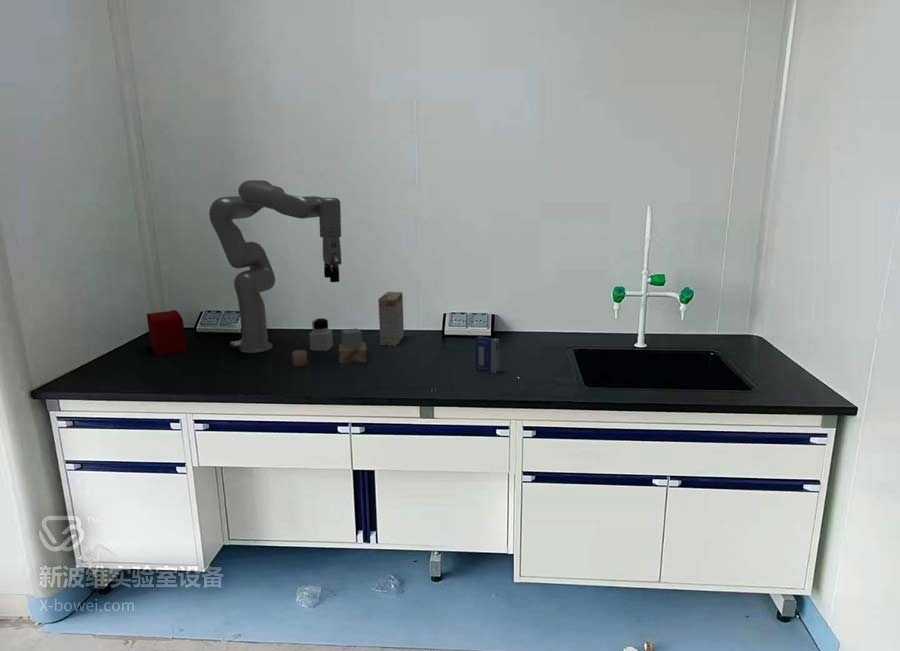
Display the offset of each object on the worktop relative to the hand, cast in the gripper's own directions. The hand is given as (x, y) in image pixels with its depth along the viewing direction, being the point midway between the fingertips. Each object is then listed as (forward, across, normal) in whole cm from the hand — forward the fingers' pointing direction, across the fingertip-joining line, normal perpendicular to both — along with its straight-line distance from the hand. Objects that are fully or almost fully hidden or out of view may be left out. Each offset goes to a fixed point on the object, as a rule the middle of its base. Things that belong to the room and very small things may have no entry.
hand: (331, 279), depth 211 cm
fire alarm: (+33, +39, +58) cm, 77 cm away
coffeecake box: (+30, +11, -27) cm, 42 cm away
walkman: (+28, -40, -45) cm, 66 cm away
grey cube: (+25, -5, -6) cm, 26 cm away
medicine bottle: (+30, +13, +2) cm, 33 cm away
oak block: (+30, -6, -6) cm, 31 cm away
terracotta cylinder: (+30, -5, +13) cm, 33 cm away
